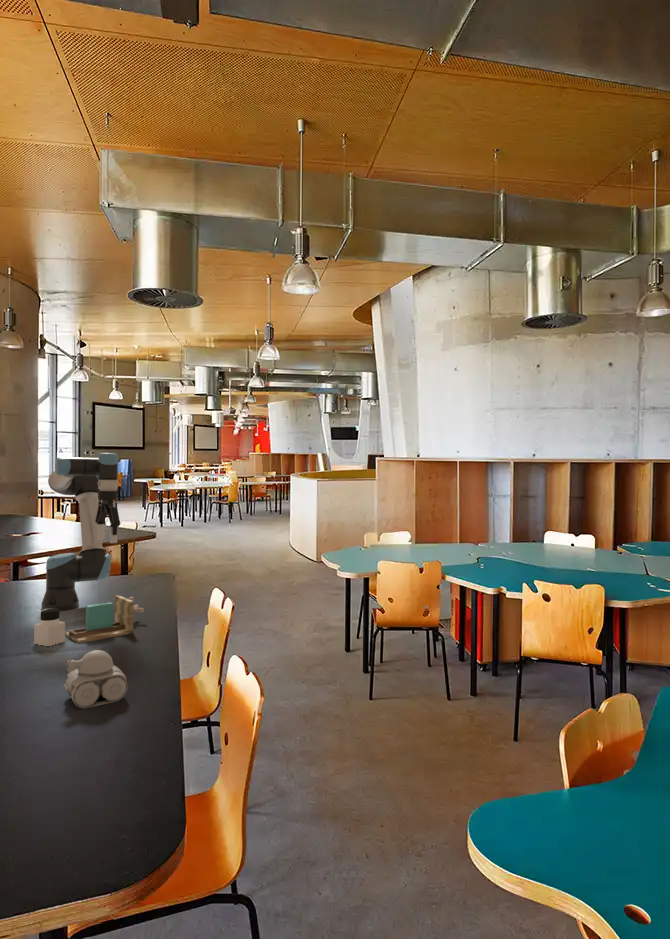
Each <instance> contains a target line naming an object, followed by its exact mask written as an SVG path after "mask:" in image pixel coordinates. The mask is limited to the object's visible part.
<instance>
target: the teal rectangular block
mask: <svg viewBox="0 0 670 939" xmlns="http://www.w3.org/2000/svg"><path fill="white" fill-rule="evenodd" d="M113 623H114V603H113V602H111V601H109V602H102V603H101V602H100V603H96V604H87V605H85V628H86V631H90V630H96V629H102V628H107V627H113Z"/></svg>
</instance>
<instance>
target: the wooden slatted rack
mask: <svg viewBox="0 0 670 939" xmlns="http://www.w3.org/2000/svg"><path fill="white" fill-rule="evenodd" d="M134 605H135V601H132V600H129V598H127V597H124V596H122V595H119V594H117V595H114V622H113V627H107V628H102V629H96V630H90V631H86V627H80V628H75V629H74V628H73V629H70V630H68V631H65V637H68V638H69V639H71V640H72V641H74V642H76V643H77V644H82V643H87V642H94V641H97V640H104V639H108V638H109V639H110V638H115V637H120V636H126V635H131V634H134V613H135V612H134Z"/></svg>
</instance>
